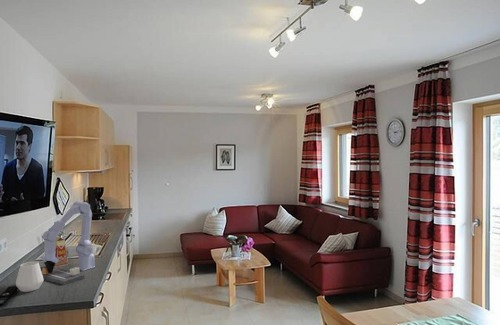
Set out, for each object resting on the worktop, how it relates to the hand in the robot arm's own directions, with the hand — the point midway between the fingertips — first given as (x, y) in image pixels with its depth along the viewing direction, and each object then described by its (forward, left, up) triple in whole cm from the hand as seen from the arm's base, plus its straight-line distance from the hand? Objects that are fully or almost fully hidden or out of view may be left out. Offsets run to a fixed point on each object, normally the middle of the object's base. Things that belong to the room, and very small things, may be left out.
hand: (50, 273), depth 219 cm
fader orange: (0, -3, 0) cm, 3 cm away
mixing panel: (-3, +5, -3) cm, 7 cm away
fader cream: (-7, +13, 0) cm, 15 cm away
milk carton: (-18, -21, -3) cm, 28 cm away
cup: (+16, +7, -3) cm, 18 cm away
